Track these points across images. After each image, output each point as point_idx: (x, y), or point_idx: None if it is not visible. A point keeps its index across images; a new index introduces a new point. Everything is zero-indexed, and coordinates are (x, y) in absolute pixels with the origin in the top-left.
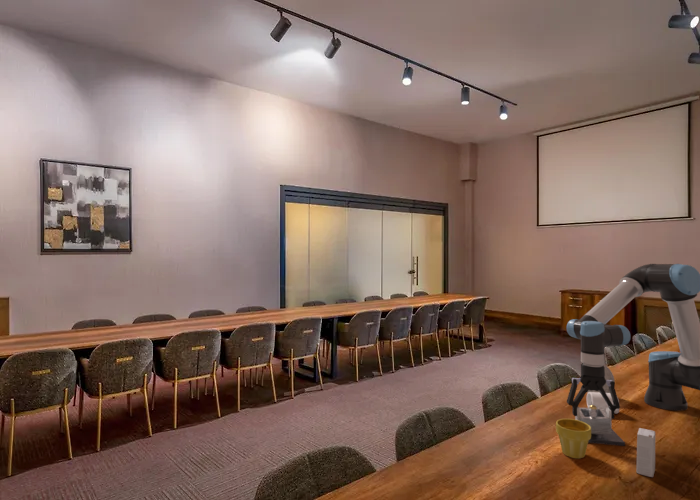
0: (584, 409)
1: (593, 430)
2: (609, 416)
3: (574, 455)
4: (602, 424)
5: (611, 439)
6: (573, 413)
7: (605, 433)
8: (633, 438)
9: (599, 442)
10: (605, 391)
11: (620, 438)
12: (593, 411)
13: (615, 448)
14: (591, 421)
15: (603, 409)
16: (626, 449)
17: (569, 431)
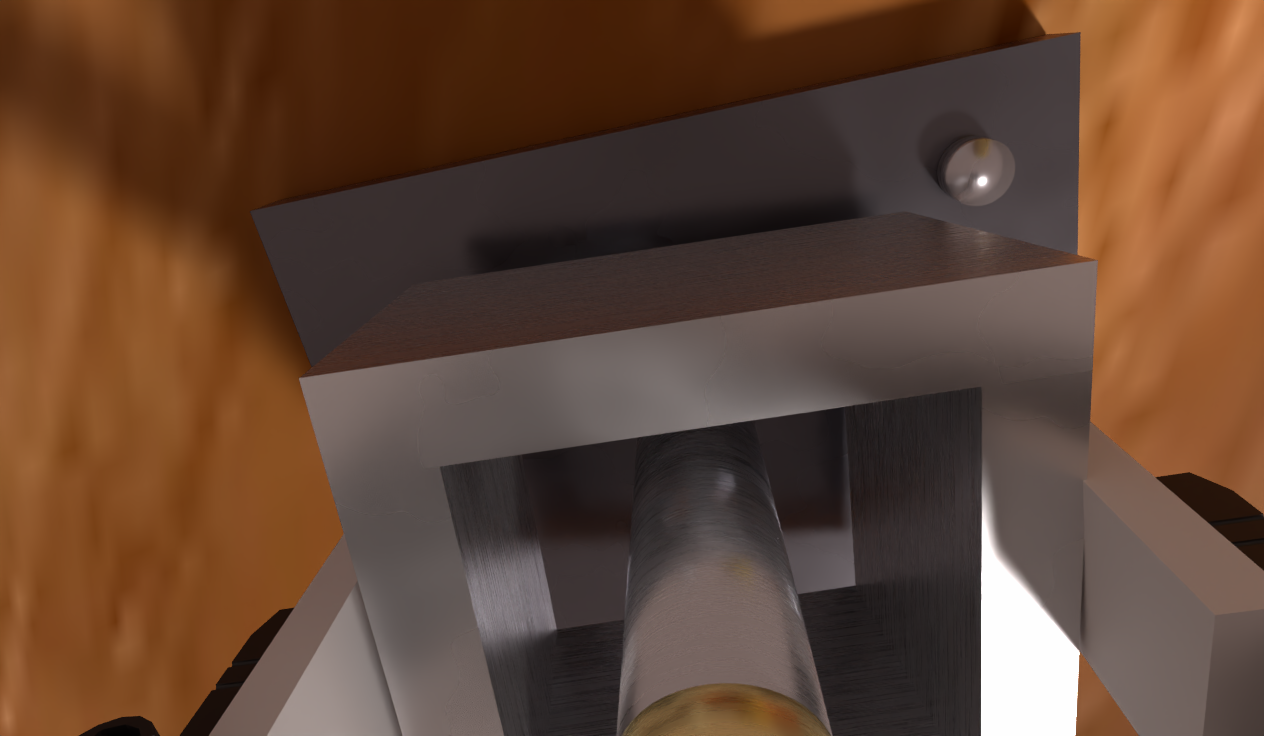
0: None
1: (728, 246)
2: (335, 602)
3: None
4: (538, 304)
5: (443, 254)
6: (1250, 513)
7: (515, 269)
8: (190, 520)
9: (637, 126)
10: None
11: (316, 354)
12: (723, 635)
13: (410, 28)
14: (799, 280)
15: None
16: (254, 63)
17: None
